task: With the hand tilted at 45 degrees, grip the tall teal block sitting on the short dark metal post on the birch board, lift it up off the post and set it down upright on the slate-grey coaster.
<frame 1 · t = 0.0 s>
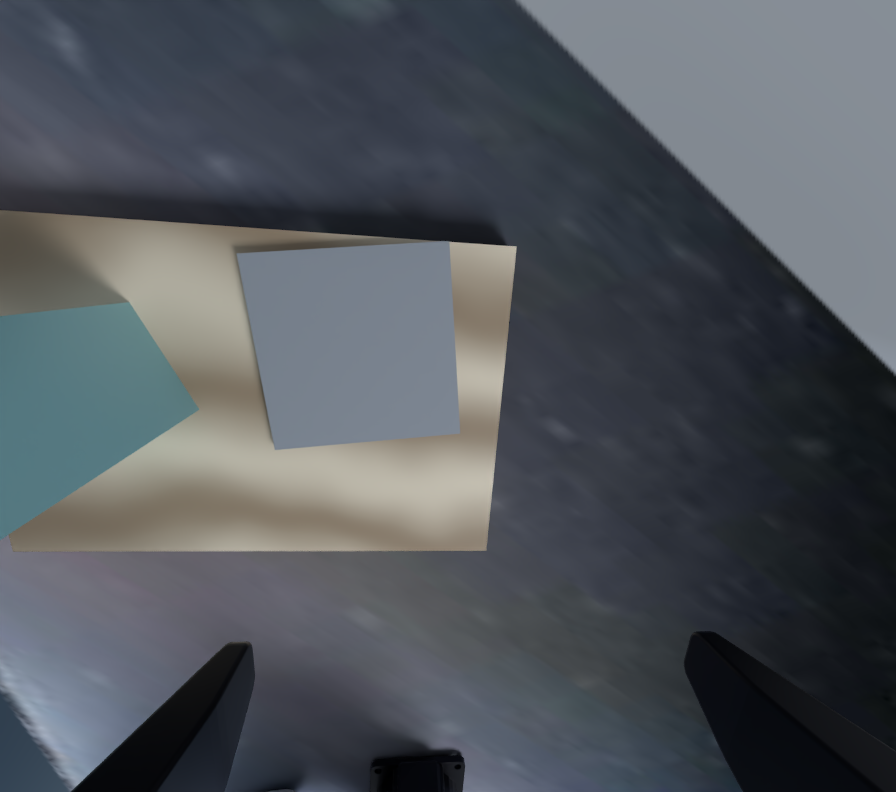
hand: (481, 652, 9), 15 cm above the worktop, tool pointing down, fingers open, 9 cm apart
board: (262, 397, 21), on the worktop
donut: (274, 791, 30), on the worktop
tall teal block: (112, 381, 19), point 1 cm above the worktop, touching board
coaster: (358, 349, 20), resting on board
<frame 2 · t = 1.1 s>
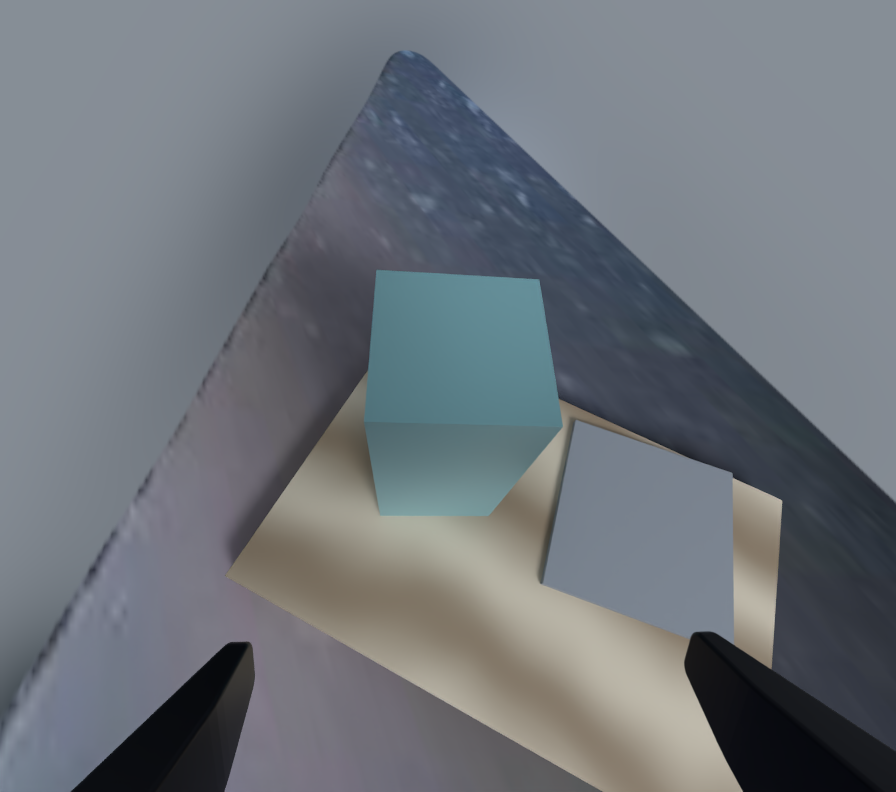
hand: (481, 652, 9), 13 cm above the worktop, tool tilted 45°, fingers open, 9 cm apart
board: (525, 539, 22), on the worktop
tall teal block: (434, 463, 22), point 1 cm above the worktop, touching board
coaster: (641, 525, 22), resting on board
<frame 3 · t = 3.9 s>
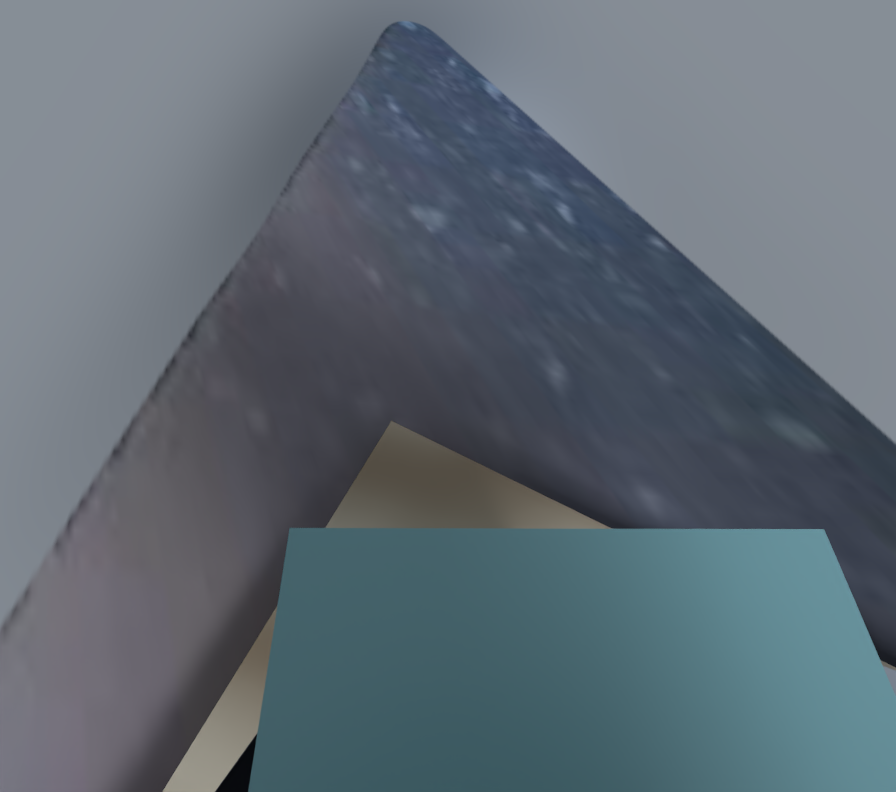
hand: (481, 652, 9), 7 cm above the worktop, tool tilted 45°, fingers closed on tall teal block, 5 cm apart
tall teal block: (453, 697, 12), point 2 cm above the worktop, touching board, gripper
when the fingers open (9 cm above the worktop, at t = 8.8 s): tall teal block drops 1 cm, resting on coaster.
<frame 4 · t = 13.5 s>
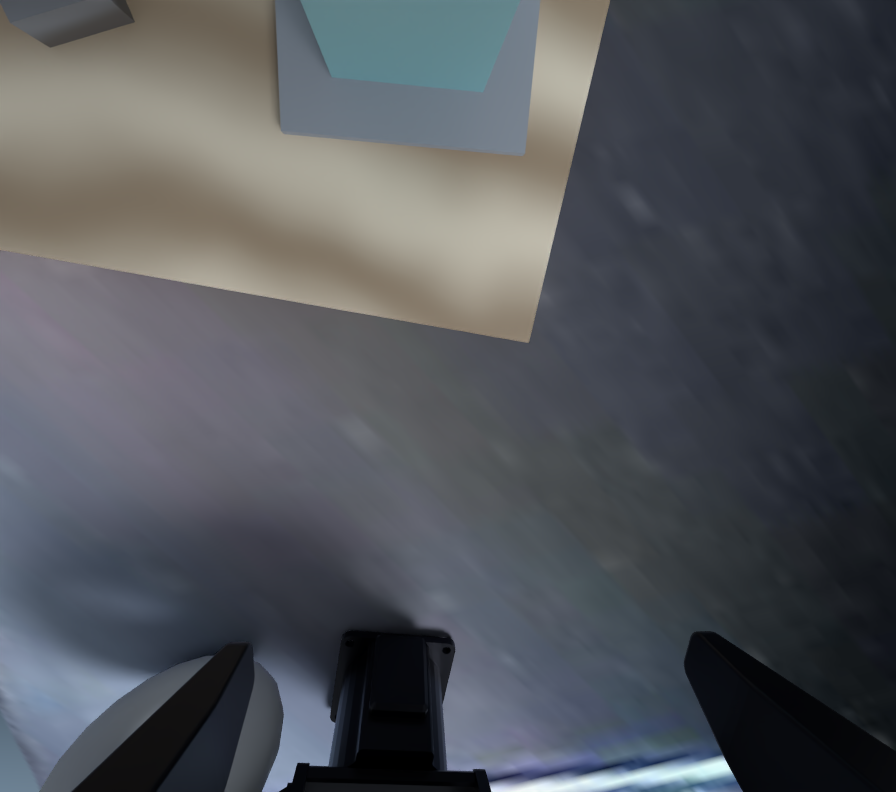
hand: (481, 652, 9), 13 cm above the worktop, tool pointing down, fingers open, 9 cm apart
board: (270, 81, 16), on the worktop
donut: (218, 660, 24), on the worktop
coaster: (410, 0, 15), resting on board
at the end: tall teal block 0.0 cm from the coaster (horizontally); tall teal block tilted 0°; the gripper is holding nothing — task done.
